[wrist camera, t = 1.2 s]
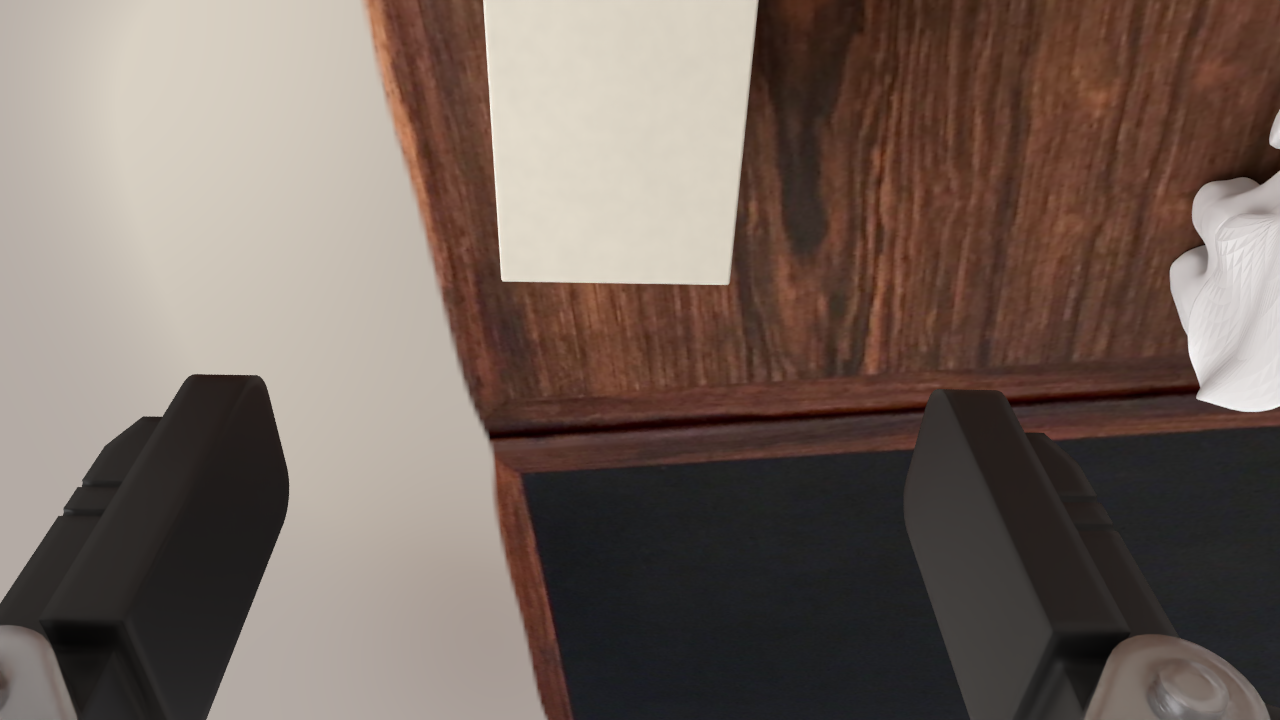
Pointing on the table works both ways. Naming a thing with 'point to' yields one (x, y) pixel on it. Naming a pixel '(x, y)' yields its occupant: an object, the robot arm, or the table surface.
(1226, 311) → the elephant figurine
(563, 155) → the off-white rectangular slab
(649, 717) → the table surface
